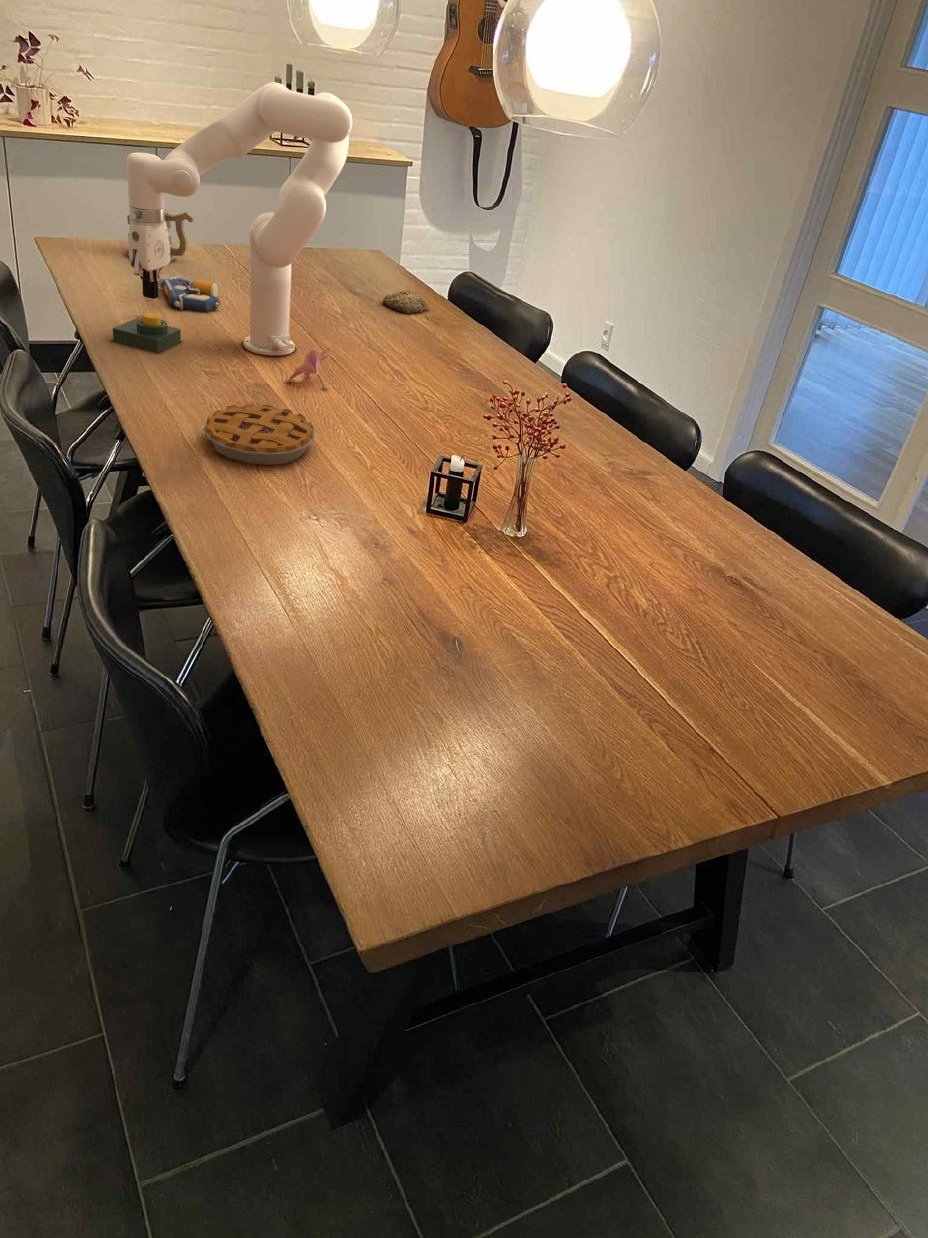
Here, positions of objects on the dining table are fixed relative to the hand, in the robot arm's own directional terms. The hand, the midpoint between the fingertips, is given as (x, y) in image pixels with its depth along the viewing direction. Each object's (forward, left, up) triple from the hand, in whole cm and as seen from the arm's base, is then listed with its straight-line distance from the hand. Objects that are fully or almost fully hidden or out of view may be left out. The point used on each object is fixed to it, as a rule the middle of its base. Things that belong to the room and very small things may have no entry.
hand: (150, 296), depth 218 cm
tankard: (+63, -35, -11) cm, 73 cm away
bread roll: (+4, -83, -11) cm, 84 cm away
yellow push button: (0, 0, -6) cm, 6 cm away
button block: (+1, +1, -11) cm, 11 cm away
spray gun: (+26, -25, -11) cm, 38 cm away
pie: (-59, +7, -11) cm, 60 cm away
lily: (-36, -21, -11) cm, 43 cm away
